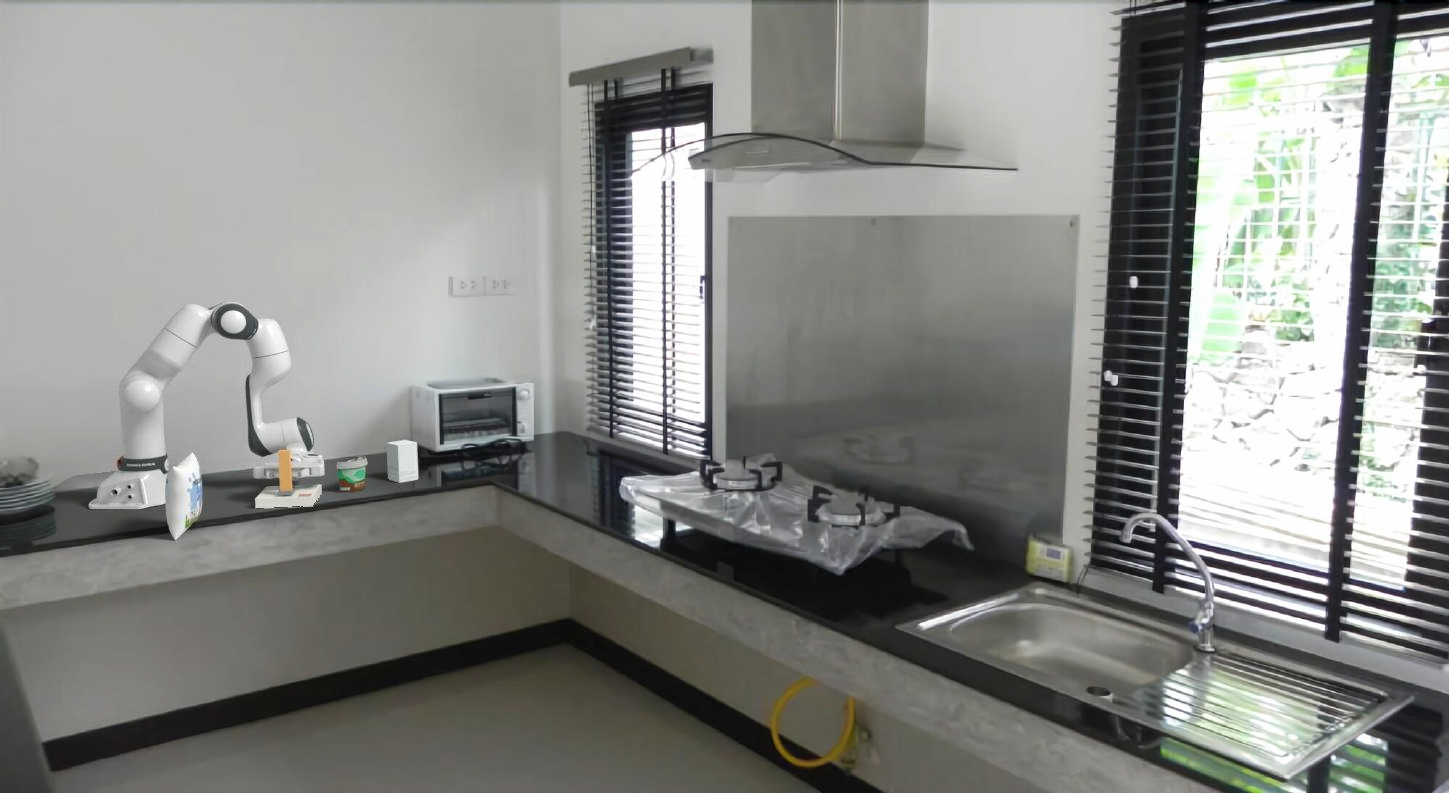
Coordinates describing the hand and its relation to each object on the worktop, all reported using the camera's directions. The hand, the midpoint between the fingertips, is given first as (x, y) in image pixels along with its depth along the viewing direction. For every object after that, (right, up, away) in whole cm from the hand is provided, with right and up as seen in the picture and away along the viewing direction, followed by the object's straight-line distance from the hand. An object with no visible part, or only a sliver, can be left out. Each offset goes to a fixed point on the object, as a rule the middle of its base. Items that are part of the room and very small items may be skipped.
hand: (284, 475), depth 315 cm
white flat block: (-1, -8, +6) cm, 10 cm away
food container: (+14, -6, +21) cm, 26 cm away
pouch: (-15, -13, -27) cm, 34 cm away
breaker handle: (0, -5, +2) cm, 6 cm away
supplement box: (+24, -4, +36) cm, 43 cm away
